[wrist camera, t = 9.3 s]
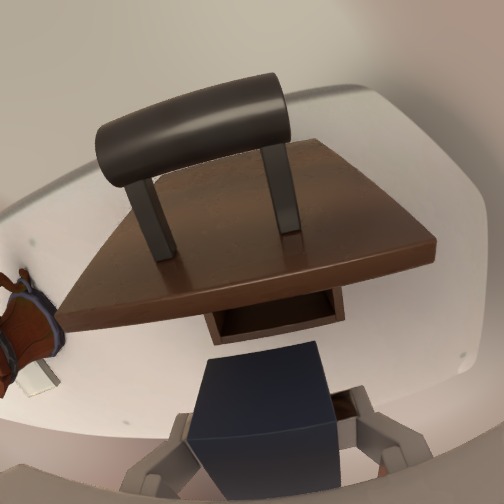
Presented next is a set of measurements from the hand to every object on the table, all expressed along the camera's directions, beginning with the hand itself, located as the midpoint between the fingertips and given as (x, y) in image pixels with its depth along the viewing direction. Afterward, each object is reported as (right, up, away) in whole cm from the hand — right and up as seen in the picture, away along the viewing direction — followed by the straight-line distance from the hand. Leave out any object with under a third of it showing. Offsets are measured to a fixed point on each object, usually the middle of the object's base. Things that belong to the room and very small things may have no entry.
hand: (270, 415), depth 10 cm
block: (0, 0, +2) cm, 2 cm away
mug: (-33, -1, +25) cm, 41 cm away
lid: (-1, +9, +4) cm, 10 cm away
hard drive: (-40, -15, +29) cm, 52 cm away
